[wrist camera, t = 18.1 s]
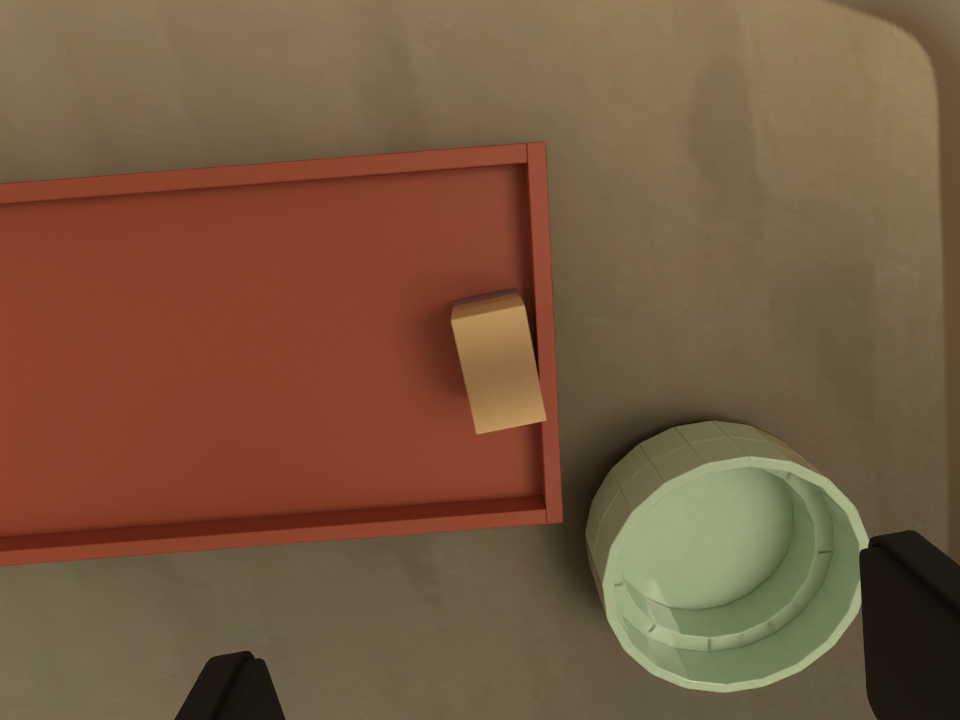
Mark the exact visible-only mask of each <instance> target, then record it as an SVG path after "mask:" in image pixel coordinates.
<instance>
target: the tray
mask: <svg viewBox="0 0 960 720" xmlns="http://www.w3.org/2000/svg"><path fill="white" fill-rule="evenodd" d="M510 288H517V290H518V292H519V295H520V297H521V299H522V301H523V303H524V305H525V309H526V314H527V319H528V324H529V330H530V335H531V340H532V345H533V351H534V356H535V361H536V366H537V372H538V377H539V382H540V387H541V393H542V398H543V403H544V408H545V414H546V421H543V422H538V423H533V424H528V425H523V426H518V427H513V428H508V429H503V430H498V431H493V432H488V433H483V434H476V432H475V428H474V423H473V419H472V414H471V410H470V405H469V401H468V396H467V392H466V388H465V383H464V379H463V374H462V370H461V365H460V361H459V356H458V352H457V347H456V343H455V338H454V334H453V329H452V325H451V315H452V305H453V301H454V300H458V299H462V298H467V297H472V296H477V295H482V294H486V293H491V292H496V291H501V290H506V289H510ZM546 522H547V523H548V524H549V523H561V522H563V509H562V487H561V465H560V443H559V421H558V400H557V378H556V356H555V334H554V312H553V290H552V268H551V246H550V224H549V203H548V181H547V159H546V142H531V143H527V144H526V143H519V144H506V145H493V146H480V147H468V148H455V149H442V150H429V151H416V152H403V153H390V154H378V155H365V156H352V157H339V158H326V159H313V160H300V161H288V162H275V163H262V164H249V165H236V166H223V167H210V168H197V169H185V170H172V171H159V172H146V173H133V174H120V175H107V176H95V177H82V178H69V179H56V180H43V181H30V182H17V183H5V184H0V566H8V565H21V564H33V563H46V562H59V561H72V560H85V559H98V558H111V557H123V556H136V555H149V554H162V553H175V552H188V551H200V550H213V549H226V548H239V547H252V546H265V545H278V544H290V543H303V542H316V541H329V540H342V539H355V538H367V537H380V536H393V535H406V534H419V533H432V532H445V531H457V530H470V529H483V528H496V527H509V526H522V525H534V524H546Z"/></svg>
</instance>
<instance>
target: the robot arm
mask: <svg viewBox="0 0 960 720" xmlns="http://www.w3.org/2000/svg"><path fill="white" fill-rule="evenodd" d="M859 568H860V585H861V602H862V619H863V637H864V654H865V671H866V688H867V696H868V700H869V703H870V706H871V708H872V710H873V712H874V714H875V716H876V718H877V719H878V720H960V566H959V565H958V564H957V563H956V562H954V561H953V560H951V559H950V558H949V557H948V556H947V555H945V554H944V553H943V552H942V551H940V550H939V549H938V548H937V547H935V546H934V545H933V544H932V543H930V542H929V541H928V540H926V539H925V538H924V537H923V536H921V535H920V534H919V533H917V532H915V531H911V530H908V531H902V532H897V533H891V534H886V535H880V536H875V537H872V538H871V539H870V540H869V543H868V548H865V549H862V550H861V551H860V553H859ZM175 720H285V717H284V714H283V711H282V708H281V705H280V703H279V700H278V697H277V694H276V691H275V688H274V686H273V683H272V680H271V677H270V674H269V671H268V668H267V666H266V664H265V661H264V660H263V659H260V658H258V659H255V658H254V656H253V654H252V653H251V652H249V651H242V652H237V653H231V654H226V655H220V656H215V657H212V658H210V659H209V661H208V662H207V663H206V665H205V666H204V668H203V670H202V672H201V674H200V675H199V677H198V679H197V681H196V682H195V684H194V686H193V688H192V690H191V691H190V693H189V695H188V697H187V698H186V700H185V702H184V704H183V706H182V707H181V709H180V711H179V713H178V714H177V716H176V718H175Z"/></svg>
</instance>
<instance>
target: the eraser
mask: <svg viewBox="0 0 960 720" xmlns="http://www.w3.org/2000/svg"><path fill="white" fill-rule="evenodd" d="M451 325H452V329H453V334H454V338H455V343H456V347H457V352H458V356H459V361H460V365H461V370H462V374H463V379H464V383H465V388H466V392H467V396H468V401H469V405H470V410H471V414H472V419H473V423H474V428H475V432H476V434H483V433H488V432H493V431H498V430H503V429H508V428H513V427H518V426H523V425H528V424H533V423H538V422H543V421H546V414H545V408H544V403H543V398H542V393H541V387H540V382H539V377H538V372H537V366H536V361H535V356H534V351H533V345H532V340H531V335H530V330H529V324H528V319H527V314H526V309H525V305H524V303H523V301H522V299H521V297H520V295H519V292H518V290H517V288H510V289H506V290H501V291H496V292H491V293H486V294H482V295H477V296H472V297H467V298H462V299H458V300H454V301H453V305H452V315H451Z"/></svg>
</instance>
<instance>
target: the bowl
mask: <svg viewBox="0 0 960 720" xmlns="http://www.w3.org/2000/svg"><path fill="white" fill-rule="evenodd" d="M585 538H586V545H587V552H588V559H589V565H590V568H591V572H592V575H593V578H594V581H595V584H596V587H597V590H598V593H599V596H600V599H601V602H602V606H603V609H604V612H605V615H606V618H607V621H608V622H609V624H610V626H611V628H612V630H613V631H614V633H615V635H616V637H617V639H618V641H619V642H620V644H621V646H622V648H623V649H624V650H625V652H626V653H628V654H629V655H630V656H631V657H632V658H633V659H635V660H636V661H637V662H638V663H639V664H640V665H641V666H643V667H644V668H645V669H646V670H647V671H648V672H650V673H651V674H652V675H655V676H657V677H659V678H662V679H664V680H667V681H669V682H672V683H674V684H676V685H679V686H681V687H684V688H687V689H695V690H704V691H713V692H723V693H724V692H733V691H739V690H746V689H752V688H759V687H764V686H767V685H769V684H772V683H774V682H776V681H779V680H781V679H783V678H786V677H788V676H790V675H793V674H795V673H797V672H800V671H801V670H803V669H805V668H806V667H807V666H809V665H810V664H811V663H812V662H814V661H815V660H816V659H818V658H819V657H820V656H821V655H823V654H824V653H825V652H827V651H828V650H829V649H830V648H832V647H833V646H834V645H835V644H836V642H837V641H838V640H839V638H840V637H841V636H842V634H843V633H844V632H845V630H846V629H847V628H848V626H849V625H850V623H851V622H852V621H853V619H854V618H855V617H856V615H857V613H858V612H859V609H860V606H861V603H862V602H861V585H860V568H859V553H860V551H861V550H862V549H865V548H868V543H869V538H868V536H867V533H866V531H865V528H864V526H863V524H862V521H861V519H860V516H859V514H858V511H857V509H856V507H855V505H854V504H853V503H852V502H851V501H850V500H849V499H848V498H847V497H846V496H845V495H844V494H843V493H842V492H841V491H840V490H839V489H838V488H837V487H836V486H835V485H834V483H833V482H832V481H831V480H830V479H828V478H827V477H826V476H825V475H823V474H822V473H821V472H820V471H819V470H817V469H816V468H815V467H814V466H812V465H811V464H810V463H809V462H807V461H806V460H805V459H804V458H803V457H801V456H800V455H799V454H798V453H796V452H795V451H794V450H793V449H792V448H790V447H789V446H788V445H787V444H785V443H784V442H783V441H781V440H780V439H778V438H775V437H773V436H771V435H769V434H767V433H765V432H763V431H761V430H759V429H757V428H755V427H753V426H751V425H750V426H749V425H744V424H737V423H729V422H722V421H706V422H700V423H694V424H688V425H682V426H676V427H675V428H674V427H672V428H670V429H668V430H666V431H664V432H662V433H660V434H658V435H656V436H654V437H651V438H649V439H647V440H645V441H643V442H641V443H640V444H638V445H637V446H636V447H635V448H633V449H632V450H631V451H630V452H629V453H628V454H627V455H626V456H625V457H624V458H622V459H621V460H620V461H619V462H618V463H617V464H616V465H615V466H614V467H613V468H612V469H611V470H610V471H609V473H608V474H607V476H606V478H605V479H604V481H603V483H602V484H601V486H600V488H599V490H598V491H597V493H596V495H595V496H594V498H593V501H592V503H591V507H590V512H589V517H588V522H587V527H586V531H585Z"/></svg>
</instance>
